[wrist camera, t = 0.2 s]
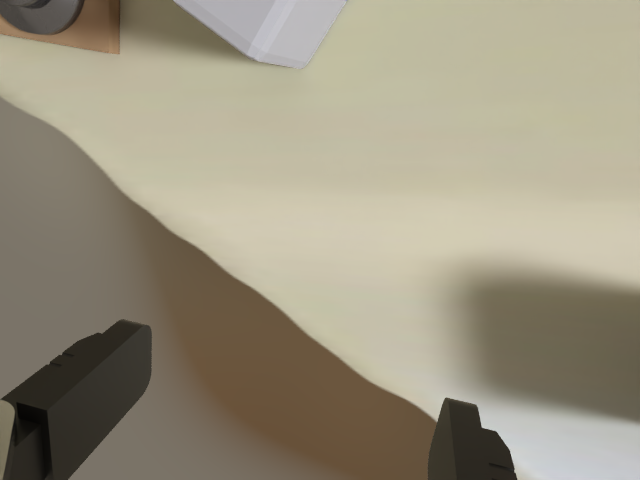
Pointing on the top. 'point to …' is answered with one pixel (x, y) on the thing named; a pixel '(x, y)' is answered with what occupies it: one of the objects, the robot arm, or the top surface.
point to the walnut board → (82, 28)
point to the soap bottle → (268, 26)
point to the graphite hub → (41, 14)
